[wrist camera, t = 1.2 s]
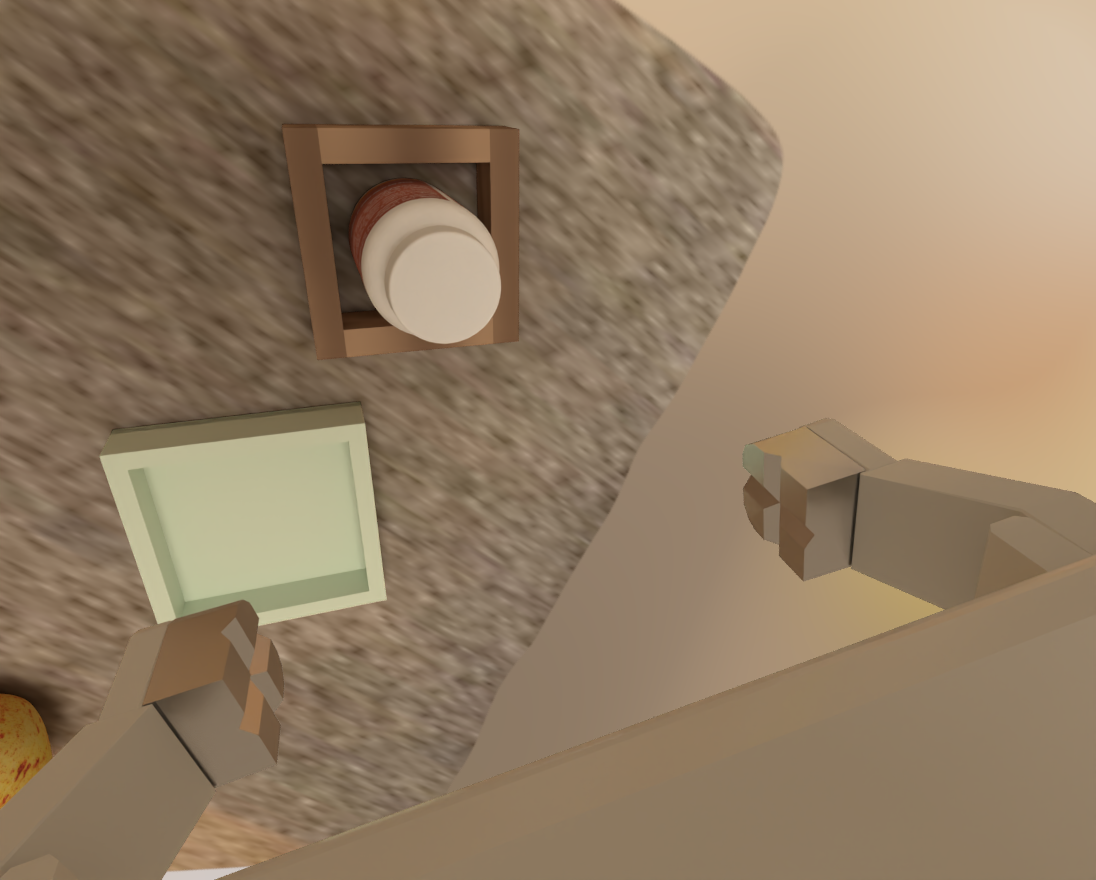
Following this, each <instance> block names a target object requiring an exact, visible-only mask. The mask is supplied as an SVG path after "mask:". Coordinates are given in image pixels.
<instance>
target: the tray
mask: <svg viewBox="0 0 1096 880" xmlns="http://www.w3.org/2000/svg"><path fill="white" fill-rule="evenodd" d="M99 457H100V459H101V462H102V465H103V468H104V471H105V474H106V477H107V480H108V482H109V485H110V488H111V491H112V494H113V497H114V500H115V502H116V505H117V508H118V511H119V514H120V517H121V520H122V523H123V525H124V528H125V531H126V534H127V537H128V540H129V543H130V546H131V548H132V551H133V554H134V557H135V560H136V563H137V566H138V569H139V571H140V574H141V577H142V580H143V583H144V586H145V589H146V592H147V594H148V597H149V600H150V603H151V606H152V609H153V612H154V614H155V617H156V620H157V623H158V624H160V623H163V622H167V621H171V620H174V619H176V618H180V617H183V616H187V615H190V614H194V613H197V612H201V611H204V610H208V609H211V608H215V607H218V606H222V605H225V604H229V603H232V602H236V601H239V600H245V601H247V602H250V604H251V605H252V607H253V609H254V610H255V612H256V614H257V615H258V617H259V623H258V626H260V625H265V624H270V623H275V622H280V621H285V620H289V619H294V618H299V617H304V616H309V615H314V614H319V613H324V612H329V611H334V610H339V609H344V608H349V607H353V606H358V605H363V604H368V603H373V602H378V601H383V600H387V599H386V591H385V583H384V574H383V566H382V558H381V550H380V542H379V534H378V525H377V517H376V509H375V501H374V493H373V485H372V476H371V468H370V460H369V452H368V444H367V436H366V427H365V421H364V416H363V412H362V407H361V402H351V403H343V404H334V405H325V406H316V407H307V408H299V409H290V410H281V411H272V412H263V413H255V414H246V415H237V416H228V417H219V418H211V419H202V420H193V421H184V422H175V423H167V424H158V425H149V426H140V427H131V428H123V429H114V430H112V432H111V434H110V436H109V438H108V440H107V442H106V444H105V446H104V448H103V450H102V452H101V454H100V456H99Z"/></svg>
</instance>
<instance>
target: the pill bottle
mask: <svg viewBox="0 0 1096 880" xmlns="http://www.w3.org/2000/svg"><path fill="white" fill-rule="evenodd" d="M349 244H350V249H351V253H352V256H353V258H354V261H355V263H356V266H357V268H358V271H359V273H360V276H361V279H362V281H363V284H364V287H365V289H366V292H367V294H368V296H369V298H370V300H371V302H372V303H373V305H374V307H375V308H376V309H377V311H378V312H379V313H380V314H381V316H382V317H383V318H384V319H386V320H387V321H388V322H389V323H390V324H392V325H393V326H395V327H396V328H398V329H400V330H402V331H404V332H406V333H409V334H412V335H415V336H417V337H419V338H421V339H423V340H425V341H428V342H433V343H440V344H449V343H455V342H460V341H462V340H465V339H468V338H470V337H471V336H473V335H475V334H476V333H478V332H479V331H480V330H481V329H483V328H484V327H485V326H486V325H487V323H488V322H489V321H490V319H491V318H492V316H493V315H494V313H495V311H496V309H497V306H498V303H499V300H500V294H501V279H500V273H499V259H498V253H497V250H496V246H495V244H494V241H493V239H492V237H491V235H490V233H489V232H488V230H487V229H486V227H485V226H484V225H483V224H482V222H481V221H480V220H479V219H478V218H477V217H476V216H475V215H473V214H472V213H471V212H470V211H469V210H467V209H466V208H465V207H463V206H462V205H460V204H459V203H458V202H456V201H455V200H453V199H452V198H451V197H449V196H448V195H447V194H445V193H444V192H442V191H441V190H439V189H438V188H436V187H434V186H432V185H431V184H429V183H426V182H424V181H421V180H417V179H411V178H398V179H391V180H387V181H384V182H382V183H380V184H378V185H376V186H374V187H373V188H371V189H370V190H368V191H367V192H366V193H365V194H364V195H363V196H362V197H361V199H360V200H359V201H358V203H357V204H356V206H355V208H354V210H353V212H352V215H351V219H350V223H349Z"/></svg>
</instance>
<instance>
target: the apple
mask: <svg viewBox="0 0 1096 880" xmlns="http://www.w3.org/2000/svg"><path fill="white" fill-rule="evenodd" d="M52 758H53V757H52V752H51V746H50V742H49V738H48V734H47V731H46V728H45V725H44V723H43V721H42V718H41V717H40V715H39V714H38V712H37V710H36V709H35V708H34V706H33V705H32V704H31V703H30V702H29V701H27V700H25V699H24V698H21V697H18V696H14V695H10V694H0V809H1V808H2V807H3V806H4V805H5V804H6V803H7V802H8V801H9V800H10V799H11V798H12V797H13V796H14V795H15V794H16V793H17V792H18V791H19V790H21V789H22V788H23V787H24V786H25V785H26V784H27V783H28V782H29V781H30V780H31V779H32V778H33V777H34V776H35V775H36V774H37V773H38V772H39V771H40V770H41V769H42V768H43V767H44V766H45V765H46V764H47V763H48V762H49V761H50V760H51V759H52Z"/></svg>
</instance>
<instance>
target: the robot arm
mask: <svg viewBox="0 0 1096 880" xmlns="http://www.w3.org/2000/svg"><path fill="white" fill-rule="evenodd" d="M743 467H744V468H745V469H746V470H747V471H748V472H749V473H750V474H751V476H750V478H749V479H748V481H747V483H746V484H745V486H744V488H743V495H744V506H745V509H746V512H747V515H748V518H749V520H750V522H751V524H752V525H753V527H754V529H755V530H756V531H757V533H758V534H759V535H760V536H761V537H762V538H763V539H764V540H767V541H770V542H773V543H776V544H779V556H780V557H781V558H782V560H783V561H785V563H786V564H787V565H788V566H789V567H790V568H791V569H792V570H793V571H794V572H795V573H796V574H797V575H798V576H799V577H800V578H801V579H802V580H803V581H806V580H809V579H813V578H816V577H819V576H822V575H825V574H828V573H831V572H835V571H838V570H841V569H844V568H847V567H850V566H851V569H854V570H855V571H858V572H860V573H862V574H865V575H867V576H869V577H872V578H874V579H876V580H878V581H881V582H883V583H885V584H888V585H890V586H892V587H895V588H897V589H899V590H901V591H904V592H906V593H908V594H911V595H913V596H915V597H918V598H920V599H922V600H924V601H927V602H929V603H931V604H934V605H936V606H938V607H941V608H943V609H945V610H943V611H940V612H938V613H935V614H932V615H930V616H927V617H925V618H922V619H919V620H917V621H914V622H911V623H908V624H906V625H903V626H900V627H897V628H895V629H892V630H889V631H887V632H884V633H881V634H879V635H876V636H873V637H871V638H868V639H865V640H863V641H860V642H857V643H855V644H852V645H849V646H846V647H844V648H841V649H838V650H836V651H833V652H830V653H827V654H824V655H822V656H819V657H816V658H814V659H811V660H808V661H806V662H803V663H800V664H797V665H795V666H792V667H789V668H787V669H784V670H781V671H778V672H776V673H773V674H770V675H767V676H765V677H762V678H759V679H757V680H754V681H751V682H748V683H746V684H743V685H740V686H738V687H735V688H732V689H729V690H727V691H724V692H721V693H718V694H716V695H713V696H710V697H708V698H705V699H702V700H699V701H697V702H694V703H691V704H688V705H686V706H683V707H680V708H678V709H675V710H672V711H670V712H667V713H664V714H662V715H659V716H656V717H653V718H651V719H648V720H645V721H643V722H640V723H637V724H634V725H632V726H629V727H626V728H624V729H621V730H618V731H616V732H613V733H611V734H608V735H605V736H602V737H599V738H597V739H594V740H591V741H589V742H586V743H583V744H580V745H578V746H575V747H573V748H570V749H567V750H564V751H562V752H559V753H556V754H553V755H551V756H548V757H545V758H543V759H540V760H537V761H534V762H532V763H529V764H526V765H524V766H521V767H518V768H516V769H513V770H510V771H507V772H505V773H502V774H499V775H497V776H494V777H491V778H489V779H486V780H483V781H480V782H478V783H475V784H472V785H470V786H467V787H464V788H462V789H459V790H456V791H453V792H451V793H448V794H445V795H443V796H440V797H437V798H434V799H432V800H429V801H426V802H424V803H421V804H418V805H416V806H413V807H410V808H407V809H405V810H402V811H399V812H397V813H394V814H391V815H388V816H386V817H383V818H380V819H378V820H375V821H372V822H370V823H367V824H364V825H361V826H359V827H356V828H353V829H351V830H348V831H345V832H342V833H340V834H337V835H334V836H332V837H329V838H326V839H324V840H321V841H318V842H315V843H313V844H310V845H307V846H305V847H302V848H299V849H296V850H294V851H291V852H288V853H286V854H283V855H280V856H278V857H275V858H272V859H269V860H267V861H264V862H261V863H259V864H256V865H253V866H250V867H248V868H245V869H243V870H240V871H237V872H235V873H232V874H229V875H226V876H224V877H221V878H218V879H216V880H1096V503H1094V502H1093V501H1091V500H1089V499H1087V498H1085V497H1083V496H1082V495H1080V494H1078V493H1076V492H1071V491H1066V490H1061V489H1056V488H1051V487H1046V486H1041V485H1036V484H1031V483H1026V482H1021V481H1015V480H1011V479H1006V478H1001V477H996V476H991V475H985V474H981V473H976V472H970V471H966V470H961V469H955V468H951V467H946V466H940V465H936V464H930V463H926V462H920V461H915V460H910V459H903V460H900V461H896V460H895V459H893V458H892V457H890V456H889V455H887V454H886V453H884V452H882V451H881V450H880V449H878V448H877V447H875V446H874V445H872V444H871V443H869V442H868V441H866V440H865V439H863V438H862V437H860V436H859V435H857V434H856V433H854V432H853V431H851V430H850V429H848V428H847V427H845V426H844V425H842V424H841V423H839V422H838V421H836V420H834V419H829V418H825V419H822V420H819V421H816V422H813V423H810V424H807V425H804V426H801V427H799V428H798V429H795V430H792V431H789V432H785V433H782V434H779V435H776V436H773V437H770V438H766V439H764V440H760V441H757V442H754V443H751V444H748V445H746V446H745V448H744V451H743ZM258 623H259V617H258V615H257V614H256V612H255V610H254V609H253V607H252V605H251V604H250V602H247V601H245V600H239V601H236V602H232V603H229V604H225V605H222V606H218V607H215V608H211V609H208V610H204V611H201V612H197V613H194V614H190V615H187V616H183V617H180V618H176V619H174V620H171V621H167V622H163V623H160V624H157V625H153V626H150V627H147V628H144V629H140V630H138V631H137V632H136V633H134V634H133V635H132V636H131V638H130V640H129V642H128V645H127V647H126V650H125V653H124V655H123V658H122V660H121V663H120V665H119V668H118V670H117V673H116V676H115V678H114V681H113V683H112V686H111V688H110V691H109V694H108V696H107V699H106V701H105V704H104V706H103V709H102V711H101V714H100V717H99V719H98V721H97V722H94V723H91V724H88V725H86V726H85V727H84V728H83V729H82V730H81V731H80V732H79V733H77V734H76V735H75V736H74V737H73V738H72V739H71V740H70V741H69V742H68V743H67V744H66V745H65V746H64V747H63V748H62V749H61V750H60V751H59V752H58V753H57V754H56V755H55V756H54V757H53V758H52V759H51V760H50V761H49V762H48V763H47V764H46V765H45V766H44V767H43V768H42V769H41V770H40V771H39V772H38V773H37V774H36V775H35V776H34V777H33V778H32V779H31V780H30V781H29V782H28V783H27V784H26V785H25V786H24V787H23V788H22V789H21V790H19V791H18V792H17V793H16V794H15V795H14V796H13V797H12V798H11V799H10V800H9V801H8V802H7V803H6V804H5V805H4V806H3V807H2V808H1V809H0V880H162V878H163V876H164V875H165V873H166V872H167V870H168V868H169V867H170V865H171V864H172V862H173V860H174V859H175V857H176V855H177V854H178V852H179V851H180V849H181V847H182V846H183V844H184V843H185V841H186V839H187V838H188V836H189V834H190V833H191V831H192V830H193V828H194V826H195V825H196V823H197V822H198V820H199V818H200V817H201V815H202V813H203V812H204V810H205V809H206V807H207V805H208V804H209V802H210V801H211V799H212V797H213V796H214V794H215V792H216V790H215V788H217V787H219V786H222V785H225V784H227V783H230V782H233V781H235V780H238V779H241V778H243V777H246V776H249V775H251V774H254V773H257V772H259V771H262V770H264V769H267V768H270V767H272V766H275V765H277V760H278V750H279V740H280V730H281V724H280V723H279V721H278V719H277V717H276V716H275V714H274V712H275V711H276V709H277V708H278V707H279V705H280V704H281V703H282V701H283V698H284V677H283V669H282V664H281V661H280V658H279V655H278V652H277V650H276V648H275V646H274V644H273V642H272V640H271V639H269V638H267V637H265V636H263V635H260V634H258V633H257V630H258Z"/></svg>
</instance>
